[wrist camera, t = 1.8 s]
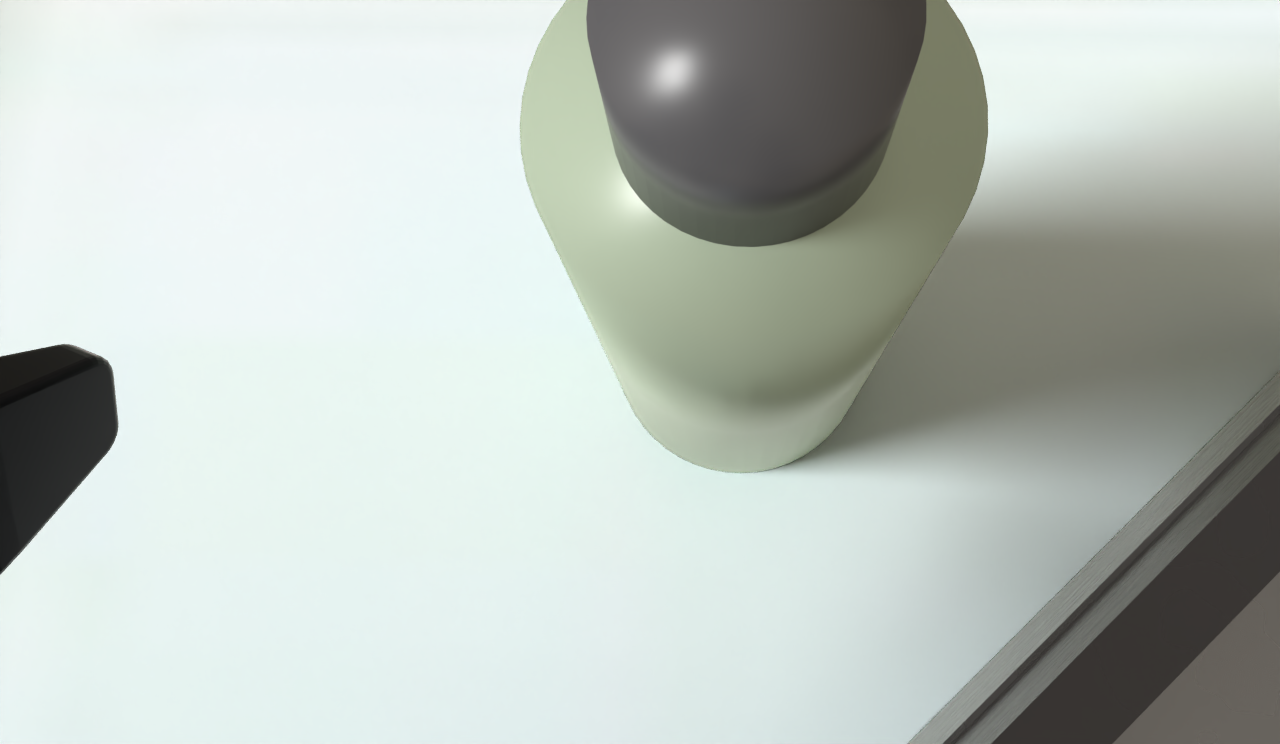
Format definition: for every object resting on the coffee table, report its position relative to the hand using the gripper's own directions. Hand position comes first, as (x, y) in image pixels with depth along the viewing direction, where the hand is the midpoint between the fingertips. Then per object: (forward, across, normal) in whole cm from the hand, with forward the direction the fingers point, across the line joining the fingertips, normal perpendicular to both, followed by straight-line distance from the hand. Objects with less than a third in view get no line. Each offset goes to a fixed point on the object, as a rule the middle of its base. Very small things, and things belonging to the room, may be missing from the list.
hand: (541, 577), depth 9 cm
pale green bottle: (+12, 0, +5) cm, 13 cm away
